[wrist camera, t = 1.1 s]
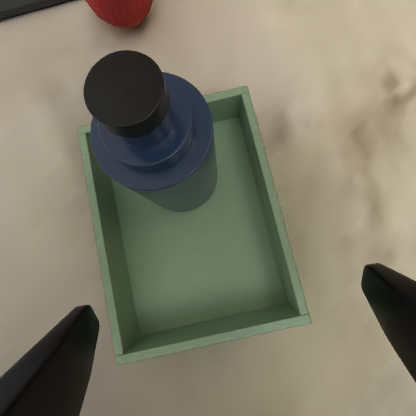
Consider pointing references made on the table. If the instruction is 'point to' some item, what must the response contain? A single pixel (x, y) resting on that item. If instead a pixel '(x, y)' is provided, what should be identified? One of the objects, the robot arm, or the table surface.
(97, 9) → the onion
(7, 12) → the phone
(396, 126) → the table surface
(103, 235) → the bin
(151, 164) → the bottle
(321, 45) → the table surface
